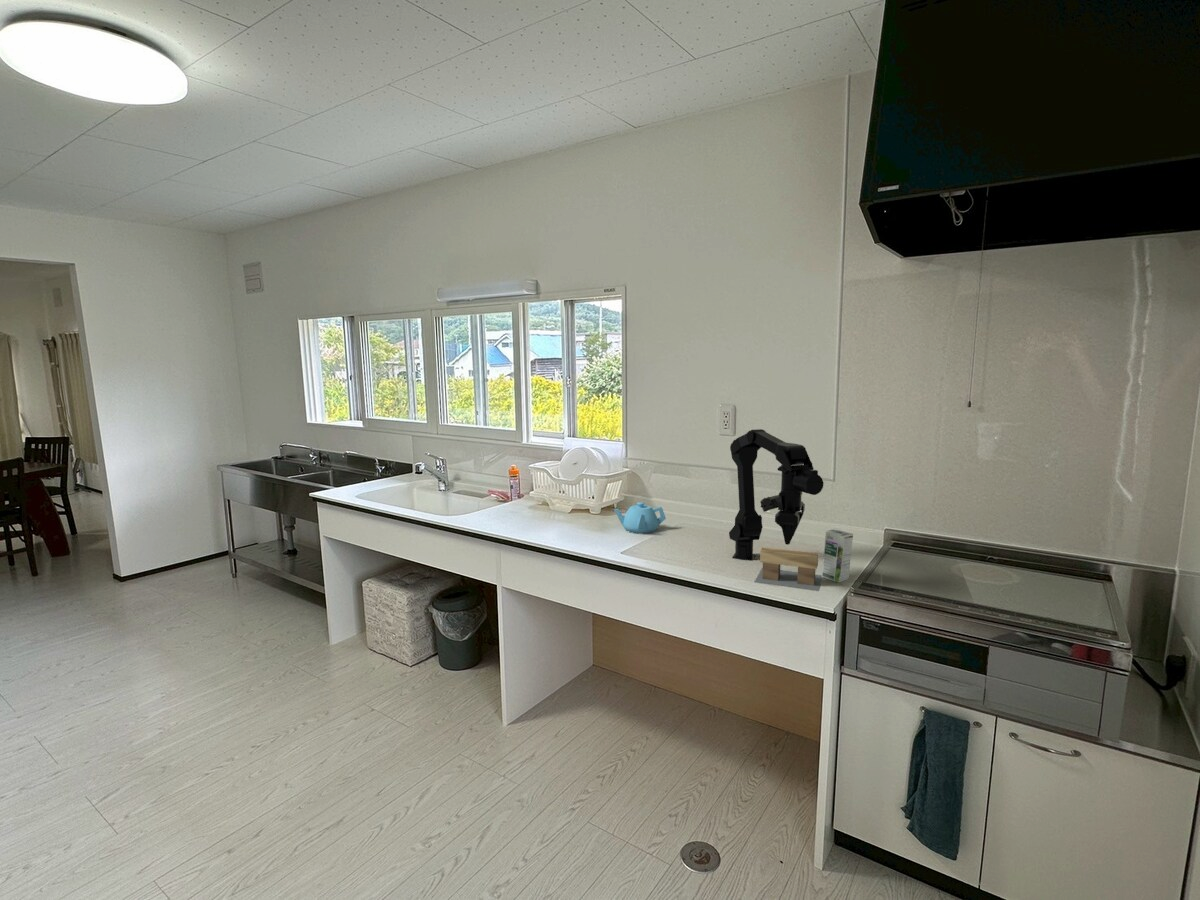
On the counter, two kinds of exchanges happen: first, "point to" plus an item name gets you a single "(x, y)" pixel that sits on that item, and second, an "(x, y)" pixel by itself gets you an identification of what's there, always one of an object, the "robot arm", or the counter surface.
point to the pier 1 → (771, 571)
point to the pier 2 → (806, 576)
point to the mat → (790, 580)
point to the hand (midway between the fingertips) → (789, 540)
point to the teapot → (641, 518)
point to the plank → (789, 557)
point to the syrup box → (837, 555)
